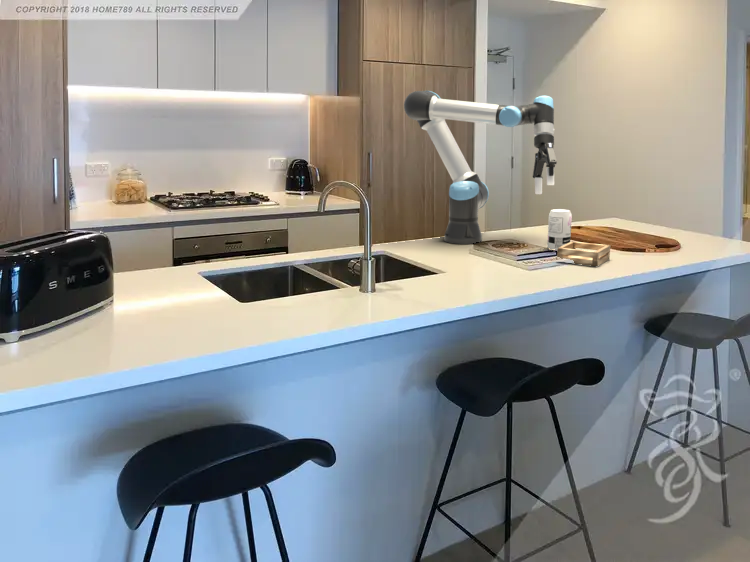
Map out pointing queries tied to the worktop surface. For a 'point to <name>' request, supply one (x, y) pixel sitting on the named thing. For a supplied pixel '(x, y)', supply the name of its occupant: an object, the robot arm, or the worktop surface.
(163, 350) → the worktop surface
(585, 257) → the crate
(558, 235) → the supplement can
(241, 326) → the worktop surface
